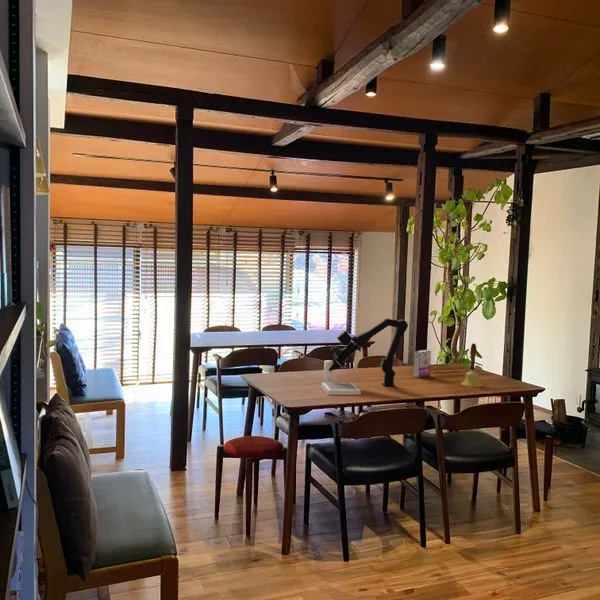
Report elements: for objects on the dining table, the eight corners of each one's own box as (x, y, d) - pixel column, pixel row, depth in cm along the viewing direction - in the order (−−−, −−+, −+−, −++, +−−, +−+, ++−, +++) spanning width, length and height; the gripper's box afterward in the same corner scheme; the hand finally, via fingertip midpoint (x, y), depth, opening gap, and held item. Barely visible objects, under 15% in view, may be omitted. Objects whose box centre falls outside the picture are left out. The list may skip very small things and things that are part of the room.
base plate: (360, 394, 301) (360, 389, 301) (327, 394, 298) (328, 389, 298) (352, 386, 319) (352, 382, 319) (321, 387, 316) (321, 382, 316)
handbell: (479, 388, 328) (481, 346, 326) (458, 385, 334) (460, 343, 333) (484, 384, 338) (486, 343, 337) (463, 381, 345) (466, 341, 343)
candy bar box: (423, 374, 362) (425, 349, 361) (430, 376, 358) (431, 350, 357) (412, 376, 355) (414, 350, 354) (419, 378, 351) (420, 352, 350)
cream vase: (332, 384, 325) (333, 361, 324) (324, 384, 324) (325, 361, 323) (331, 382, 330) (331, 360, 329) (322, 382, 329) (323, 360, 328)
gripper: (338, 338, 334) (318, 356, 335) (340, 343, 316) (319, 361, 317) (350, 352, 335) (331, 369, 336) (353, 357, 316) (333, 376, 317)
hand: (328, 369), depth 326 cm, fingers open, 9 cm apart
